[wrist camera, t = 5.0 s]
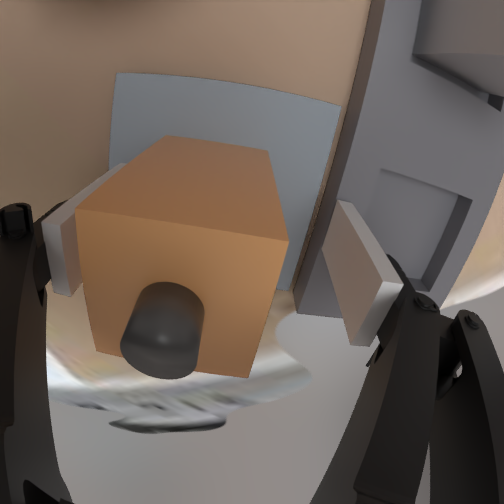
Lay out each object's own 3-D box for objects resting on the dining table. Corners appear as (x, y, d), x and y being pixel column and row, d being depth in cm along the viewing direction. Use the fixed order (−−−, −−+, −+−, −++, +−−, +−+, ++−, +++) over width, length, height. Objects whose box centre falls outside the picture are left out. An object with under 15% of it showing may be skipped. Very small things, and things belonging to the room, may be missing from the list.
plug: (158, 225, 17) (80, 389, 8) (165, 135, 14) (39, 242, 5) (248, 239, 17) (247, 420, 8) (267, 150, 15) (298, 286, 6)
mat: (114, 256, 18) (110, 262, 18) (120, 72, 13) (116, 72, 12) (287, 284, 19) (288, 290, 19) (338, 105, 14) (341, 106, 13)
